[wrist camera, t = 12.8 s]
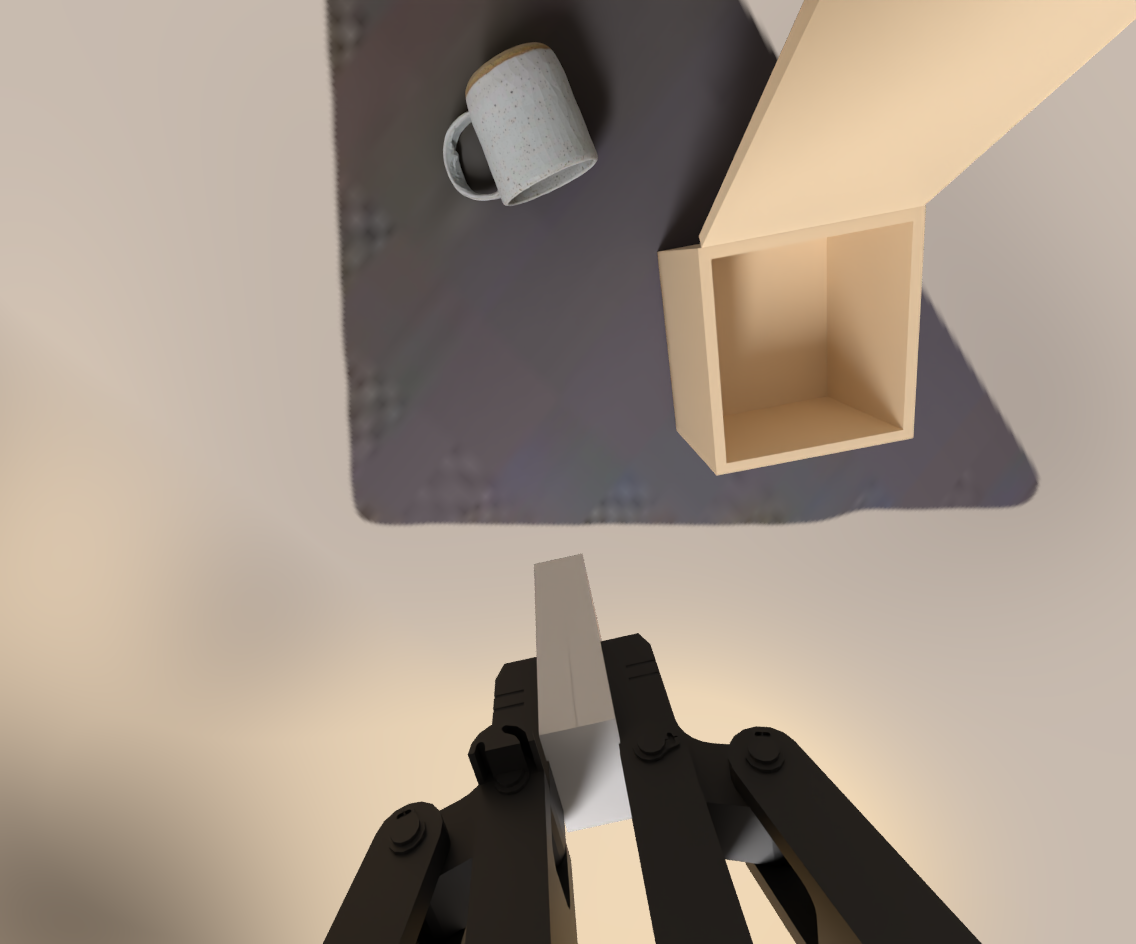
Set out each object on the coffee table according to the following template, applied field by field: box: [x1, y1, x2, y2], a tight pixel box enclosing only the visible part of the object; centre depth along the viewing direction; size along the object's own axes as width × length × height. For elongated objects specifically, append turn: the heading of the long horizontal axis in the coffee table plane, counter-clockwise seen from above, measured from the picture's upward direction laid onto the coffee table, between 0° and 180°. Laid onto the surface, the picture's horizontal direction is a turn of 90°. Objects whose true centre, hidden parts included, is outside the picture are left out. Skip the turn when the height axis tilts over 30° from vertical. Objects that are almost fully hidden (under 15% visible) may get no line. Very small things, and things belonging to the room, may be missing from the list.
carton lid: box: [699, 0, 1136, 248], centre depth 25 cm, size 21×15×1 cm
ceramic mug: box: [443, 42, 598, 206], centre depth 40 cm, size 11×8×8 cm
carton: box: [657, 205, 926, 475], centre depth 44 cm, size 16×15×12 cm
